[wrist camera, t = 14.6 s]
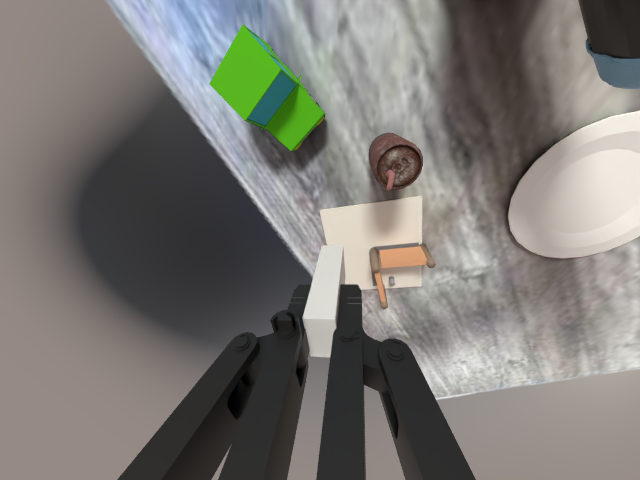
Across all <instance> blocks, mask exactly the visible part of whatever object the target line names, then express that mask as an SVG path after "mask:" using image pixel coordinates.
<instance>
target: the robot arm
mask: <svg viewBox="0 0 640 480" xmlns="http://www.w3.org/2000/svg"><path fill="white" fill-rule="evenodd" d="M579 4H580V8H581V12H582V16H583V20H584V24H585V28H586V32H587V36H588V38H587V40H586V49H587V52H588V53H589V54H590V55H591V56H592V57H593V59H594V62H595V65H596V68H597V71H598V74H599V76H600V78H601V79H602V80H603V81H605V82H607V83H608V84H609V85H612V86H613V87H617V88H622V89H640V0H579ZM345 277H346V276H345V262H344V249H343V245H329V246H322V248H321V251H320V255H319V259H318V263H317V266H316V270H315V274H314V277H313V281H312V285H299V286H298V287H297V288H296V289H295V290H294V293H293V295H292V298H291V301H290V304H289V307H288V309H287V310H283V311H280V312H278V313H276V314H275V315H274V316H273V317H272V318H271V323H272V327H273V330H274V333H272V334H269V335H266V336H262V337H258V338H256V336H255V335H254V334H253V333H249V332H246V333H242V334H240V335H238V336H236V337H235V338H234V339H233V340H232V341H231V342H230V343H229V344H228V346H227V347H226V348H225V349H224V351H223V352H222V353H221V354H220V356H219V357H218V358H217V359H216V360H215V362H214V363H213V364H212V365H211V366H210V368H209V369H208V370H207V371H206V372H205V374H204V375H203V376H202V378H201V379H200V380H199V381H198V382H197V383H196V385H195V386H194V387H193V388H192V390H191V391H190V392H189V393H188V394H187V396H186V397H185V398H184V399H183V400H182V402H181V403H180V404H179V405H178V407H177V408H176V409H175V410H174V411H173V413H172V414H171V415H170V417H169V418H168V419H167V420H166V421H165V422H164V424H163V425H162V426H161V427H160V429H159V430H158V431H157V432H156V433H155V435H154V436H153V437H152V438H151V440H150V441H149V442H148V443H147V444H146V446H145V447H144V448H143V449H142V450H141V452H140V453H139V454H138V455H137V457H136V458H135V459H134V460H133V462H132V463H131V464H130V465H129V466H128V467H127V469H126V470H125V471H124V473H123V474H122V475H121V476H120V477H119V479H118V480H211V479H212V477H213V476H214V474H215V472H216V470H217V468H218V467H219V465H220V463H221V461H222V460H223V458H224V456H225V455H226V453H227V451H228V449H229V447H230V446H231V447H230V450H229V453H228V455H227V458H226V461H225V463H224V466H223V468H222V471H221V474H220V476H219V479H218V480H287V476H288V471H289V466H290V461H291V455H292V450H293V445H294V440H295V434H296V429H297V424H298V419H299V414H300V408H301V403H302V398H303V393H304V387H305V382H306V377H307V372H308V360H307V358H308V353H309V352H310V356H315V357H330V365H329V374H328V383H327V391H326V401H325V409H324V417H323V426H322V435H321V444H320V452H319V453H320V454H319V461H318V471H317V479H316V480H366V469H365V467H366V466H365V424H364V423H365V419H364V385H366V386H368V387H371V388H373V389H375V390H377V391H379V394H380V397H381V400H382V404H383V407H384V410H385V414H386V417H387V420H388V423H389V427H390V430H391V433H392V437H393V440H394V443H395V446H396V449H397V453H398V456H399V459H400V463H401V466H402V470H403V473H404V476H405V479H406V480H476V479H475V477H474V475H473V473H472V471H471V469H470V467H469V465H468V463H467V461H466V459H465V458H464V455H463V453H462V451H461V449H460V447H459V445H458V443H457V441H456V439H455V437H454V435H453V433H452V431H451V429H450V427H449V425H448V423H447V421H446V419H445V417H444V415H443V413H442V411H441V409H440V408H439V405H438V403H437V401H436V399H435V397H434V395H433V393H432V391H431V389H430V387H429V385H428V383H427V381H426V379H425V377H424V375H423V373H422V371H421V369H420V367H419V365H418V363H417V361H416V359H415V357H414V355H413V353H412V351H411V349H410V348H409V347H408V345H407V344H405V343H404V342H402V341H401V340H398V339H387V340H384V341H383V342H380V341H377V340H374V339H372V338H370V337H369V336H368V335H367V334H366V333H365V332H364V330H363V327H362V295H361V289H360V287H359V286H358V284H345ZM231 444H232V445H231Z"/></svg>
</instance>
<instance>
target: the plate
mask: <svg viewBox="0 0 640 480" xmlns="http://www.w3.org/2000/svg"><path fill="white" fill-rule="evenodd" d="M508 221H509V227H510V231H511V232H512V234H513V236H514V237H515V239H516V241H517V242H518V243H519V244H521V245H522V246H523V247H525V248H526V249H527V250H528V251H531V252H533V253H536V254H539V255H542V256H544V257H553V258H562V259H563V258H575V257H585V256H589V255H593V254H597V253H601V252H605V251H608V250H610V249H613V248H615V247H618V246H620V245H623V244H625V243H628V242H630V241H631V240H633V239H635V238H637V237H638V236H640V111H635V112H630V113H625V114H620V115H614V116H609V117H607V118H604V119H602V120H599V121H597V122H594V123H592V124H589V125H586V126H584V127H581V128H580V129H578V130H576V131H575V132H573V133H571V134H570V135H568V136H566V137H565V138H563V139H561V140H560V141H558V142H557V143H555V144H554V145H553V146H552V147H550V148H549V149H548V150H547V151H546V152H545V153H543V154H542V155H541V156H540V157H539V158H538V159H537V160H535V161H534V163H533V164H532V165H531V166H530V168H529V169H528V170H527V171H526V173H525V174H524V175H523V176H522V178H521V179H520V180H519V182H518V184H517V186H516V188H515V190H514V193H513V195H512V197H511V199H510V204H509V210H508Z"/></svg>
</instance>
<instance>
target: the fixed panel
mask: <svg viewBox="0 0 640 480" xmlns="http://www.w3.org/2000/svg"><path fill="white" fill-rule="evenodd" d="M379 254H380V260H381V266H382V268H390V267H403V266H416V265H427V266H428V267H429V268H433V267H435V265H436V264H435V262H434V260H433V258H432V256H431V254H430V252H429V250H428V248H427V246H426V245H425V244H420V245H419V246H418V247H407V248H397V249H386V250H379ZM370 259H371V270H372V272H374V273H378V272H379V271H380V266H379V259H378V252H377V249H376V248H371V249H370Z"/></svg>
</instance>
